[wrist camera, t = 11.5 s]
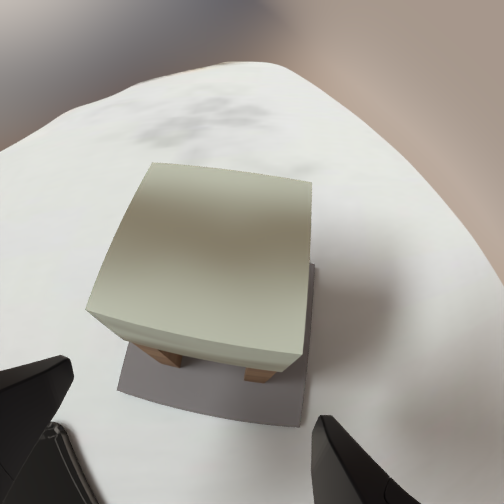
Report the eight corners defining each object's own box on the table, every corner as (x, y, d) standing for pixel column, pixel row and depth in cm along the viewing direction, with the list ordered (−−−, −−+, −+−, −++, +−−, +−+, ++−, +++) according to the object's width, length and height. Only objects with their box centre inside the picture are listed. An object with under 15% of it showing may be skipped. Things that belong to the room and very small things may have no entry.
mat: (297, 427, 14) (299, 427, 14) (119, 390, 15) (116, 390, 14) (312, 267, 20) (314, 264, 20) (163, 243, 20) (162, 239, 20)
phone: (104, 524, 9) (-18, 514, 5) (110, 519, 10) (-10, 513, 6) (55, 417, 12) (-48, 433, 8) (64, 417, 13) (-40, 434, 9)
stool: (265, 385, 15) (302, 354, 7) (158, 364, 15) (85, 309, 7) (278, 288, 19) (311, 182, 11) (183, 272, 19) (152, 162, 11)
